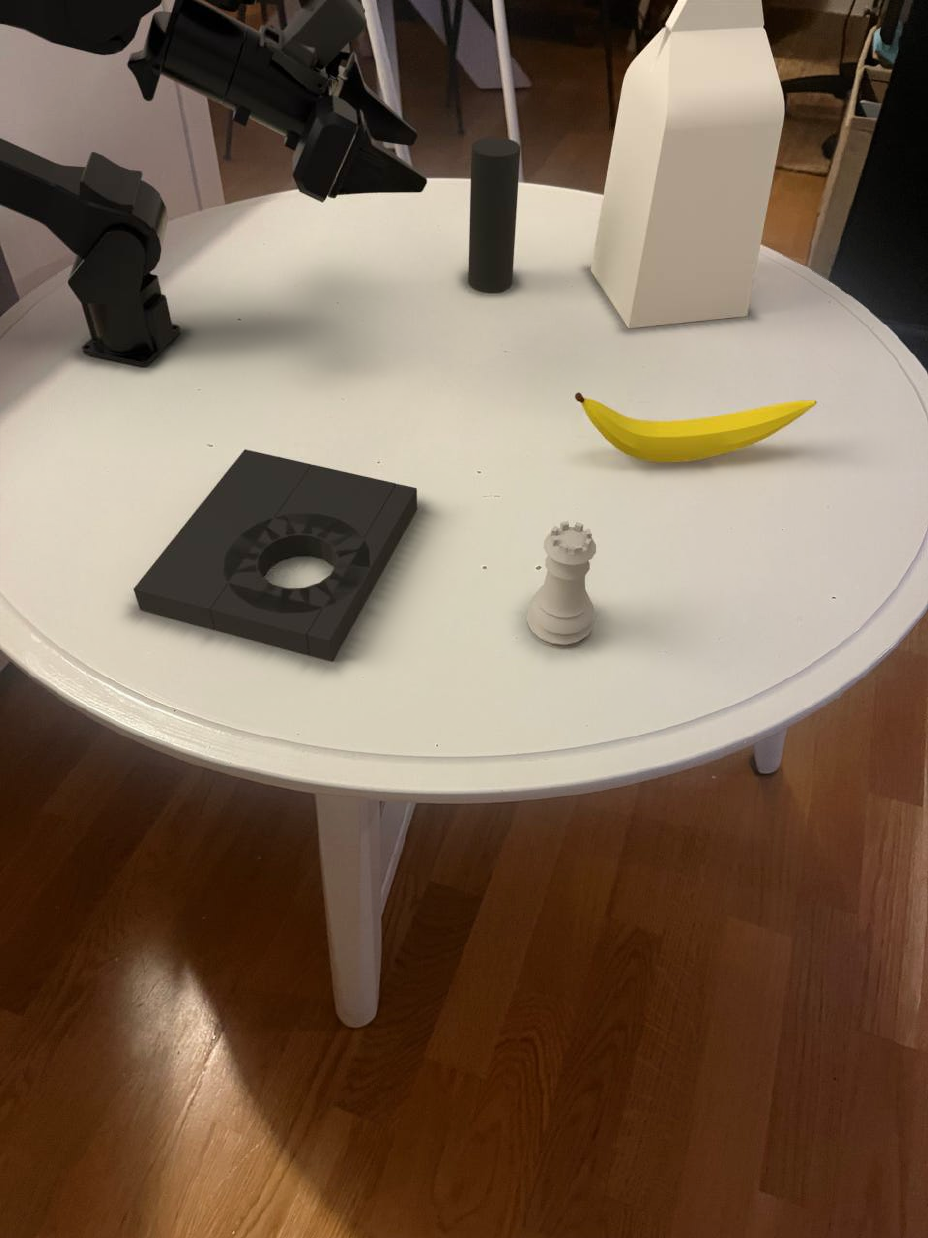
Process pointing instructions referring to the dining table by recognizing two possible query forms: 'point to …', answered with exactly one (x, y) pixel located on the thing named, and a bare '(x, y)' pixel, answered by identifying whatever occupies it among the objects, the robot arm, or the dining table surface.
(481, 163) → the post
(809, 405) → the banana
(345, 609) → the socket pad
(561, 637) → the rook chess piece
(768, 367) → the dining table surface
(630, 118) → the milk
